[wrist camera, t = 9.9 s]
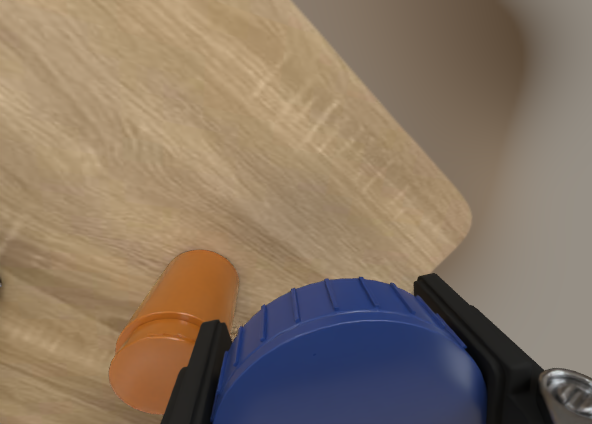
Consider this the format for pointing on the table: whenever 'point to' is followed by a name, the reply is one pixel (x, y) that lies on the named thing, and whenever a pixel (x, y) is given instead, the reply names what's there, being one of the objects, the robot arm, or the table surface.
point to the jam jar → (171, 327)
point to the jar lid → (348, 361)
